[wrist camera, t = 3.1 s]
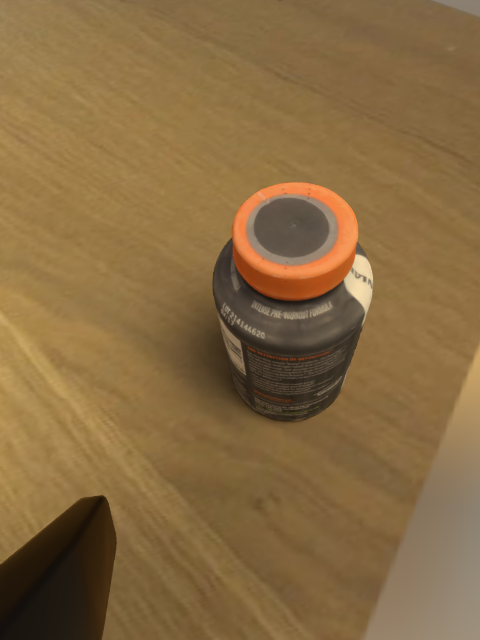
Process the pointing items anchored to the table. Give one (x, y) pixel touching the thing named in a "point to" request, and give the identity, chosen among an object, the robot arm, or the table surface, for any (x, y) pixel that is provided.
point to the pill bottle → (292, 298)
